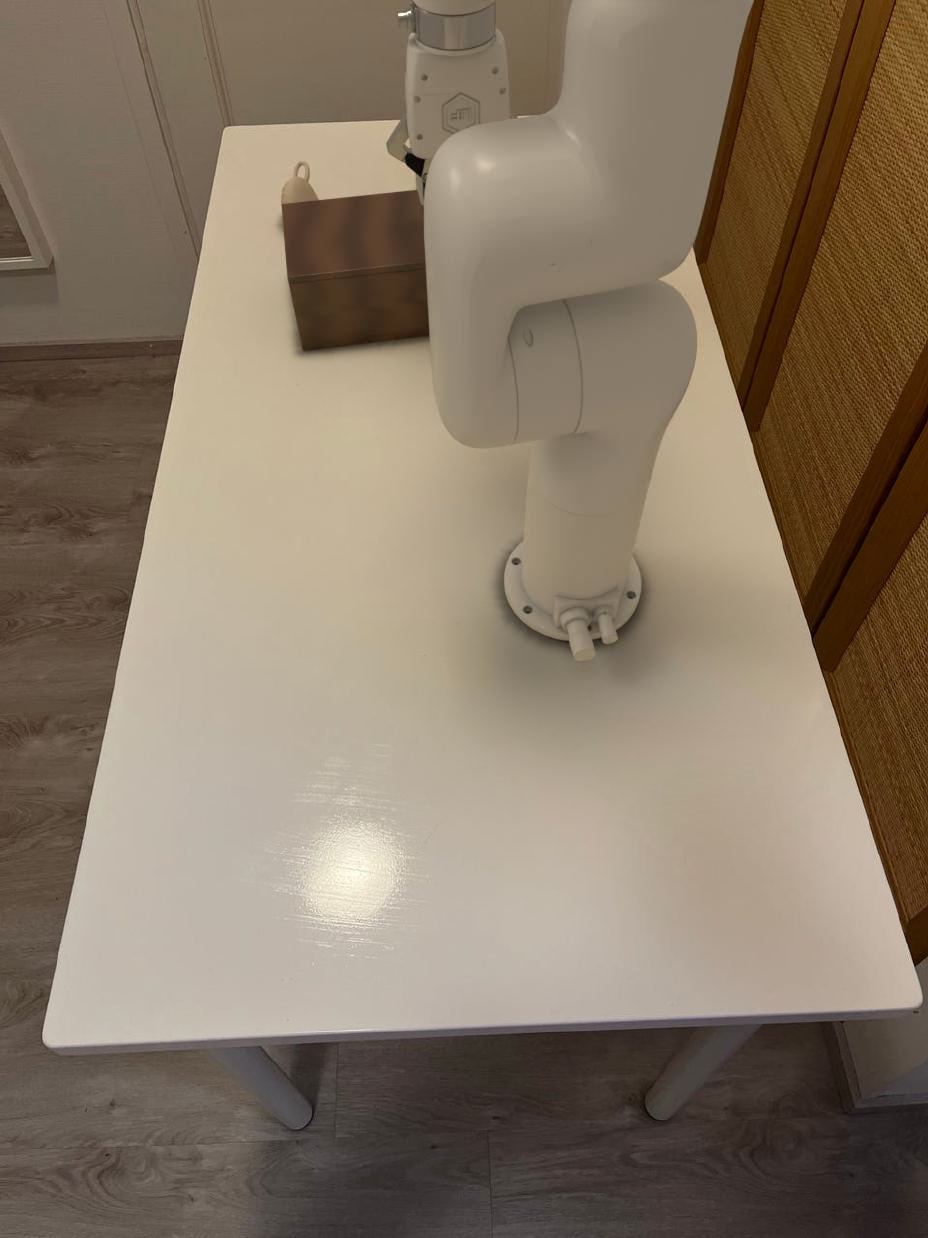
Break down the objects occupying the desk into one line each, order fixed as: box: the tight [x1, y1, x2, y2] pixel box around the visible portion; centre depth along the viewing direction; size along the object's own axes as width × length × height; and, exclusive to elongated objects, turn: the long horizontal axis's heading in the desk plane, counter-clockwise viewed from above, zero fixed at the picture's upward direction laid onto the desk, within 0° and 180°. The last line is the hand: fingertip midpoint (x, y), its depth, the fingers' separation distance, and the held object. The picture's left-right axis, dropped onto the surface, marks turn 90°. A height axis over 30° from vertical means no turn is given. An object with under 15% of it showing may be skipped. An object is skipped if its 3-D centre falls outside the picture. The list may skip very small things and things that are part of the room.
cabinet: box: [281, 189, 430, 351], centre depth 100 cm, size 16×14×10 cm
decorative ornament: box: [280, 160, 319, 207], centre depth 111 cm, size 4×8×5 cm, turn 166°
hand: (459, 206), depth 95 cm, fingers closed on figurine, 4 cm apart
